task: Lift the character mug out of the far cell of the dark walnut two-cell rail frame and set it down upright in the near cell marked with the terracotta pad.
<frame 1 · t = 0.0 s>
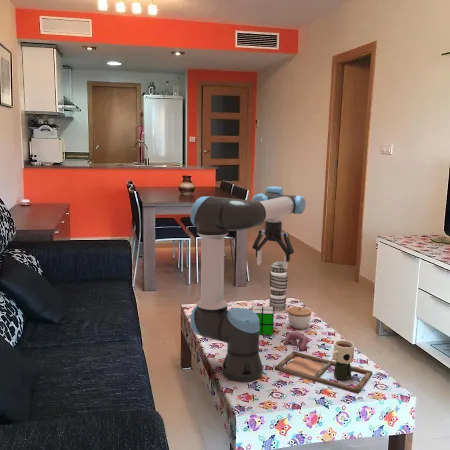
hand: (272, 266, 226), 28 cm above the table, tool pointing down, fingers open, 13 cm apart
video game controller: (296, 346, 207), on the table
character mug: (342, 377, 180), resting in rail frame
lidded jar: (298, 326, 229), on the table
decorative candle: (277, 310, 250), on the table
puzzle cube: (262, 331, 223), on the table
rail frame: (322, 371, 184), on the table
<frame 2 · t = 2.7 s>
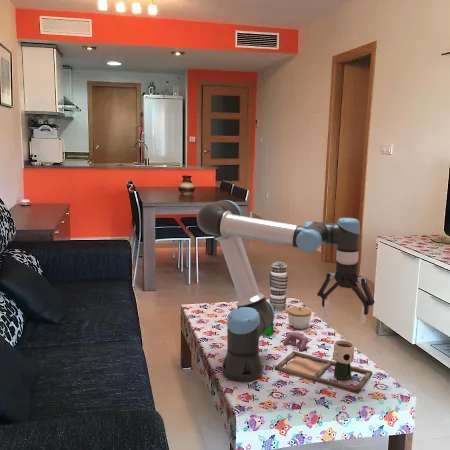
hand: (344, 319, 177), 22 cm above the table, tool pointing down, fingers open, 13 cm apart
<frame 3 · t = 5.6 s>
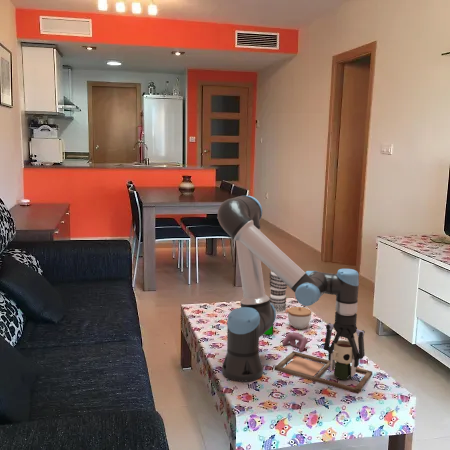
hand: (342, 371, 180), 2 cm above the table, tool pointing down, fingers closed on character mug, 7 cm apart
character mug: (342, 377, 180), resting in rail frame, touching gripper
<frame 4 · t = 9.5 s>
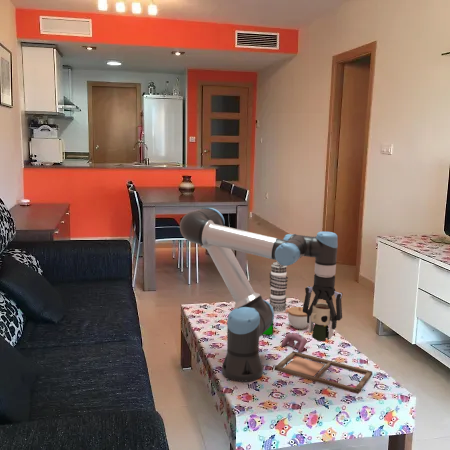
hand: (320, 334, 182), 15 cm above the table, tool pointing down, fingers closed on character mug, 7 cm apart
character mug: (320, 339, 183), point 12 cm above the table, touching gripper
when the fingers open (4 cm above the table, at t = 13.3 s): character mug drops 1 cm, resting on rail frame.
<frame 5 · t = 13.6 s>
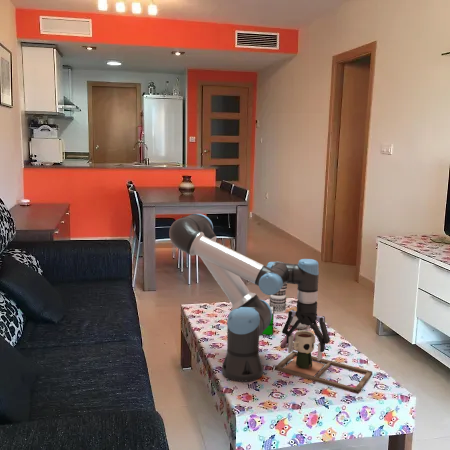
hand: (304, 355, 187), 5 cm above the table, tool pointing down, fingers open, 11 cm apart
video game controller: (293, 349, 204), on the table
character mug: (304, 366, 188), resting on rail frame
everything else where it was.
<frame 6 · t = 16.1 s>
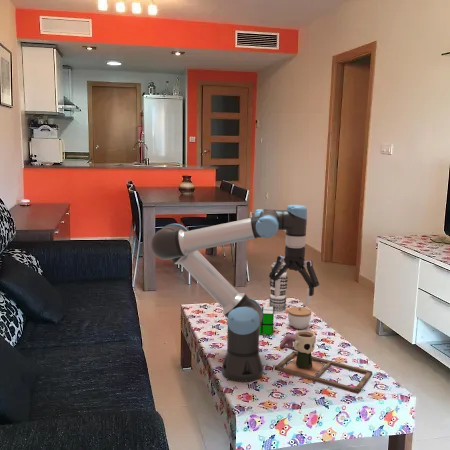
hand: (292, 299, 189), 25 cm above the table, tool pointing down, fingers open, 13 cm apart
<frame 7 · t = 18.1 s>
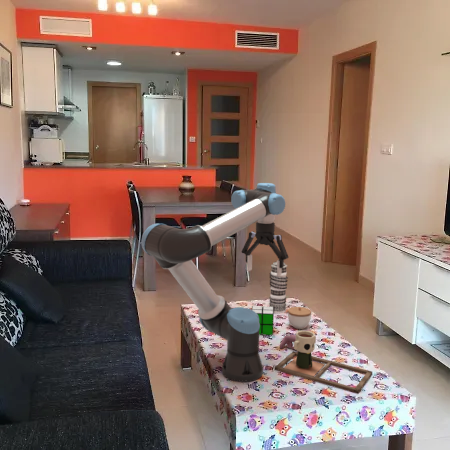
hand: (264, 273, 201), 32 cm above the table, tool pointing down, fingers open, 13 cm apart
nothing on the table moved.
at the end: character mug inside the target area on the rail frame (0.1 cm from its centre), point 0.0 cm above the rail frame's base; character mug tilted 0°; the gripper is holding nothing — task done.
